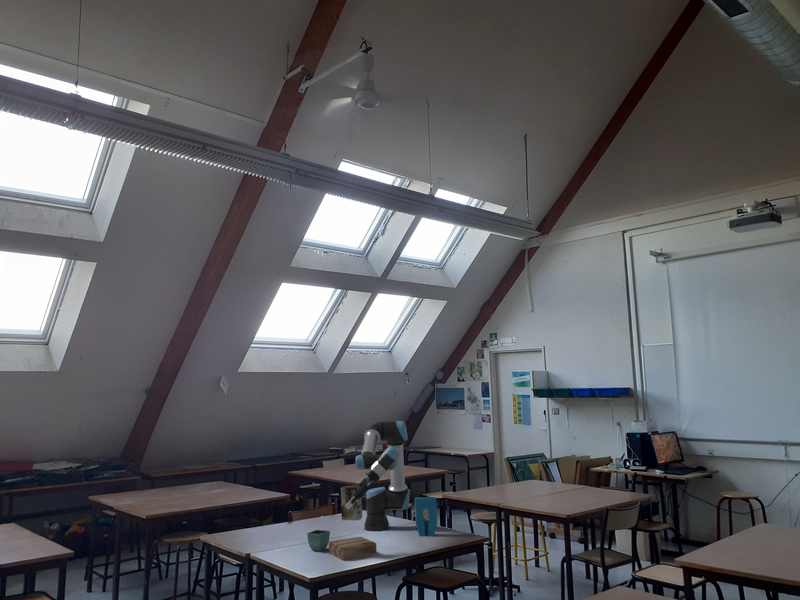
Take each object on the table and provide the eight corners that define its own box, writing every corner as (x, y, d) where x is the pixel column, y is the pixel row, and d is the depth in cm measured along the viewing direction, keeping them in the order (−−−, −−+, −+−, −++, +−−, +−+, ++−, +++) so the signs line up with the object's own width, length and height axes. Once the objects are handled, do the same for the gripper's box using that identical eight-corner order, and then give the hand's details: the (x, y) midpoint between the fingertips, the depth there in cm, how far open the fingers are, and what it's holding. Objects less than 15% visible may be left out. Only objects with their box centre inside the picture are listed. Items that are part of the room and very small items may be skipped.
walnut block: (329, 554, 299) (328, 541, 300) (361, 548, 308) (360, 536, 309) (343, 561, 284) (342, 548, 285) (376, 555, 292) (376, 543, 293)
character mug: (431, 528, 350) (430, 505, 352) (430, 531, 343) (429, 507, 345) (412, 529, 351) (412, 506, 353) (412, 531, 344) (411, 508, 346)
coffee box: (362, 518, 300) (362, 485, 303) (357, 520, 294) (356, 487, 297) (346, 517, 303) (345, 485, 306) (341, 520, 297) (340, 487, 300)
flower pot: (320, 552, 301) (320, 534, 302) (306, 551, 305) (306, 533, 307) (330, 548, 308) (330, 530, 310) (317, 547, 313) (317, 529, 314)
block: (437, 533, 335) (435, 497, 339) (437, 535, 330) (435, 498, 334) (416, 534, 336) (415, 497, 340) (416, 536, 331) (414, 499, 335)
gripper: (384, 479, 294) (353, 515, 288) (377, 475, 316) (348, 508, 310) (373, 469, 294) (342, 504, 288) (367, 465, 316) (338, 498, 310)
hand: (345, 506), depth 299 cm, fingers closed on coffee box, 10 cm apart
